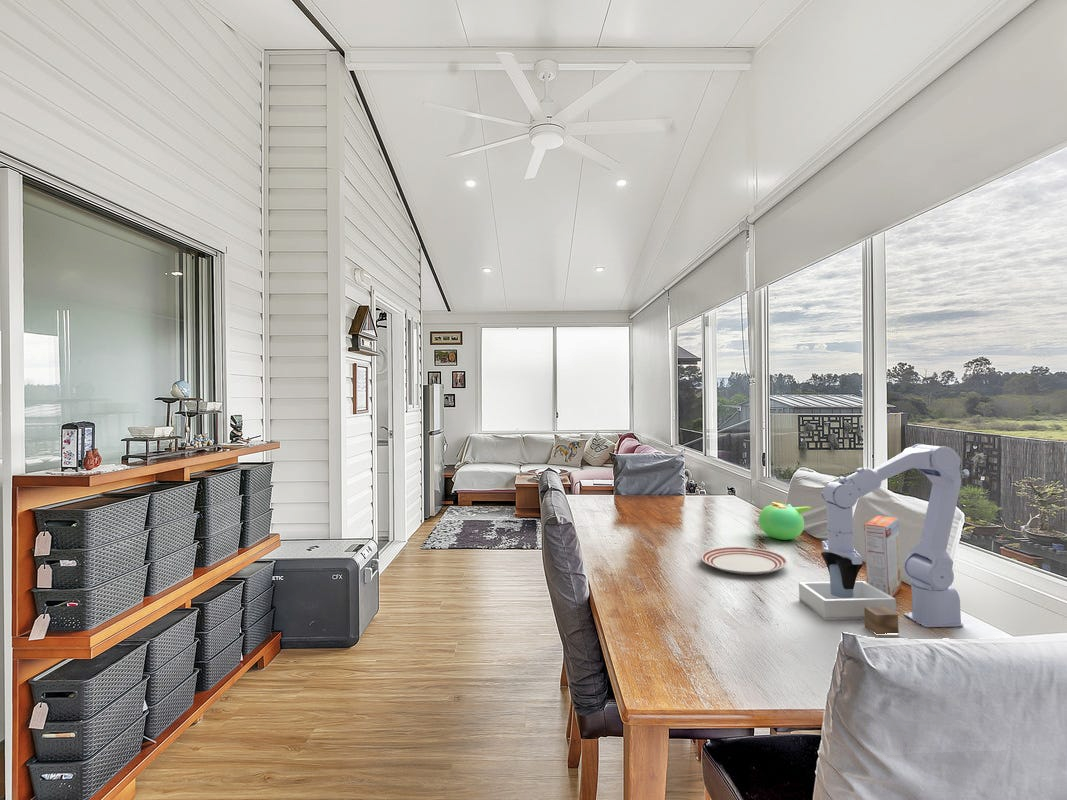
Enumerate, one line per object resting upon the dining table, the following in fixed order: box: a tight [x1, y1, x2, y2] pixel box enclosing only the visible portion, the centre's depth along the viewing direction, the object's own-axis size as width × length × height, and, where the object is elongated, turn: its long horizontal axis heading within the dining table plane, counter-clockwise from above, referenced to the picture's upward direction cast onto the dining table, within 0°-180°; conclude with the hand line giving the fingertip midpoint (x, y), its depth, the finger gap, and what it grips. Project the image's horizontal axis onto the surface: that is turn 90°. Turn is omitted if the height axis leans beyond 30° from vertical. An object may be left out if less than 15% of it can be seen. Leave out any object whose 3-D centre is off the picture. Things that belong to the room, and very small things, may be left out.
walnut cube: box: [864, 607, 900, 635], centre depth 132 cm, size 5×5×5 cm
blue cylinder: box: [829, 564, 854, 598], centre depth 136 cm, size 5×5×7 cm
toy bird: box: [758, 501, 812, 541], centre depth 218 cm, size 18×17×15 cm
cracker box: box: [863, 515, 902, 598], centre depth 156 cm, size 14×6×21 cm, turn 135°
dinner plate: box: [700, 546, 788, 576], centre depth 185 cm, size 28×27×3 cm
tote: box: [798, 580, 897, 621], centre depth 146 cm, size 18×14×5 cm
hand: (842, 584), depth 136 cm, fingers closed on blue cylinder, 5 cm apart
